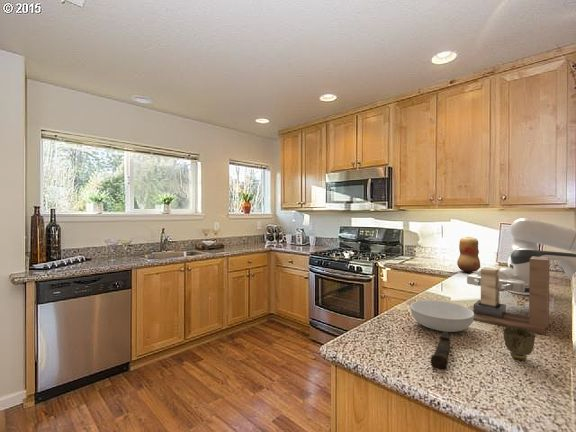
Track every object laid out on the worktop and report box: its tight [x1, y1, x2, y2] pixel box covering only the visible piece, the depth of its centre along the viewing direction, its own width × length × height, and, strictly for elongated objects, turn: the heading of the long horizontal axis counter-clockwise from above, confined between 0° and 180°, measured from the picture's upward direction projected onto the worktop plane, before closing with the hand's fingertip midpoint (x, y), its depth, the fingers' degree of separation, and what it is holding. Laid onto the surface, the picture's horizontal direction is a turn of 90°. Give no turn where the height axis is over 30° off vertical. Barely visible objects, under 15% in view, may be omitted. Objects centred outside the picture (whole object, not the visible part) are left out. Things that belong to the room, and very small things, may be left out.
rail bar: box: [480, 267, 500, 308], centre depth 122 cm, size 5×5×18 cm
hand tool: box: [430, 331, 451, 371], centre depth 88 cm, size 19×4×5 cm, turn 144°
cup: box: [502, 326, 537, 361], centre depth 87 cm, size 8×7×8 cm
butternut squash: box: [456, 236, 481, 274], centre depth 212 cm, size 14×13×25 cm
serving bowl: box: [409, 299, 474, 333], centre depth 111 cm, size 21×21×7 cm
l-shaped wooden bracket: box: [468, 256, 550, 336], centre depth 117 cm, size 16×26×25 cm, turn 46°
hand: (489, 285), depth 122 cm, fingers open, 8 cm apart
